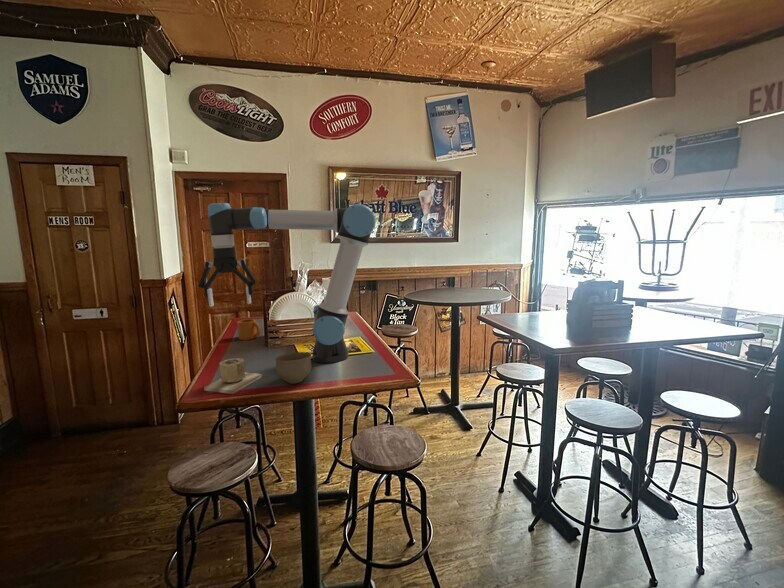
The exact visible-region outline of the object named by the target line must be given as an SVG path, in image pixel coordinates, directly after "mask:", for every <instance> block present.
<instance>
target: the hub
mask: <svg viewBox="0 0 784 588" xmlns="http://www.w3.org/2000/svg"><path fill="white" fill-rule="evenodd" d="M227 363H228V364H233V363H236V361H235V360H233V361H229V362H227ZM262 376H263V375H262V373H255V372H246V371H245V378H243V379H241V380H239V381H234V382H223V381H221V378H219V379H217V380H216V381H213V382H212V383H210V384H208V385H206V386H204V389H203V390H204V391H206V392H214V393H222V394H230V395H233V394H235V393H237V392H239V391H240V390H242V389H244V388H245V387H247V386H249V385H250V384H252V383H255V382H256V381H257V380H259V379H261V378H263V377H262Z"/></svg>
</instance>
